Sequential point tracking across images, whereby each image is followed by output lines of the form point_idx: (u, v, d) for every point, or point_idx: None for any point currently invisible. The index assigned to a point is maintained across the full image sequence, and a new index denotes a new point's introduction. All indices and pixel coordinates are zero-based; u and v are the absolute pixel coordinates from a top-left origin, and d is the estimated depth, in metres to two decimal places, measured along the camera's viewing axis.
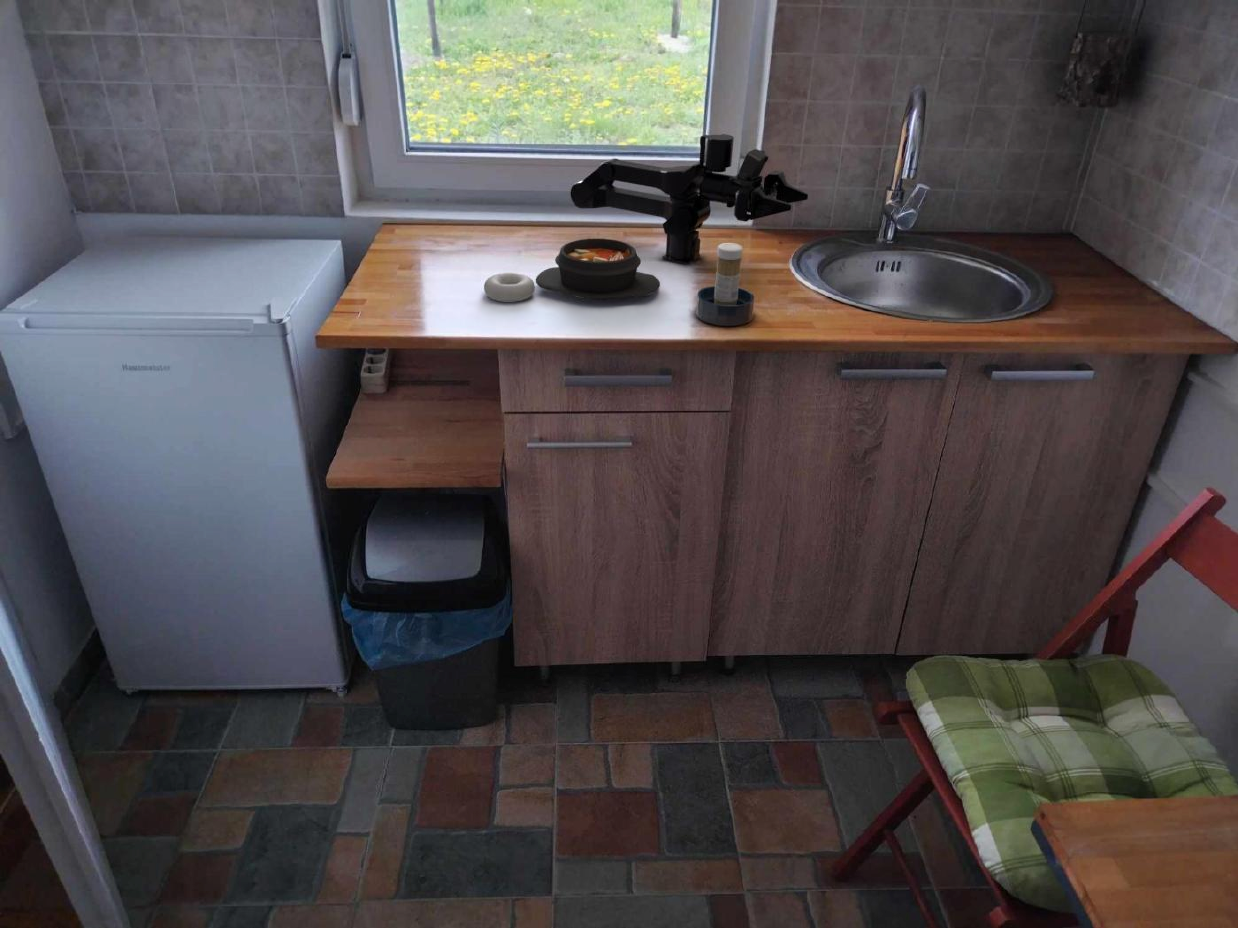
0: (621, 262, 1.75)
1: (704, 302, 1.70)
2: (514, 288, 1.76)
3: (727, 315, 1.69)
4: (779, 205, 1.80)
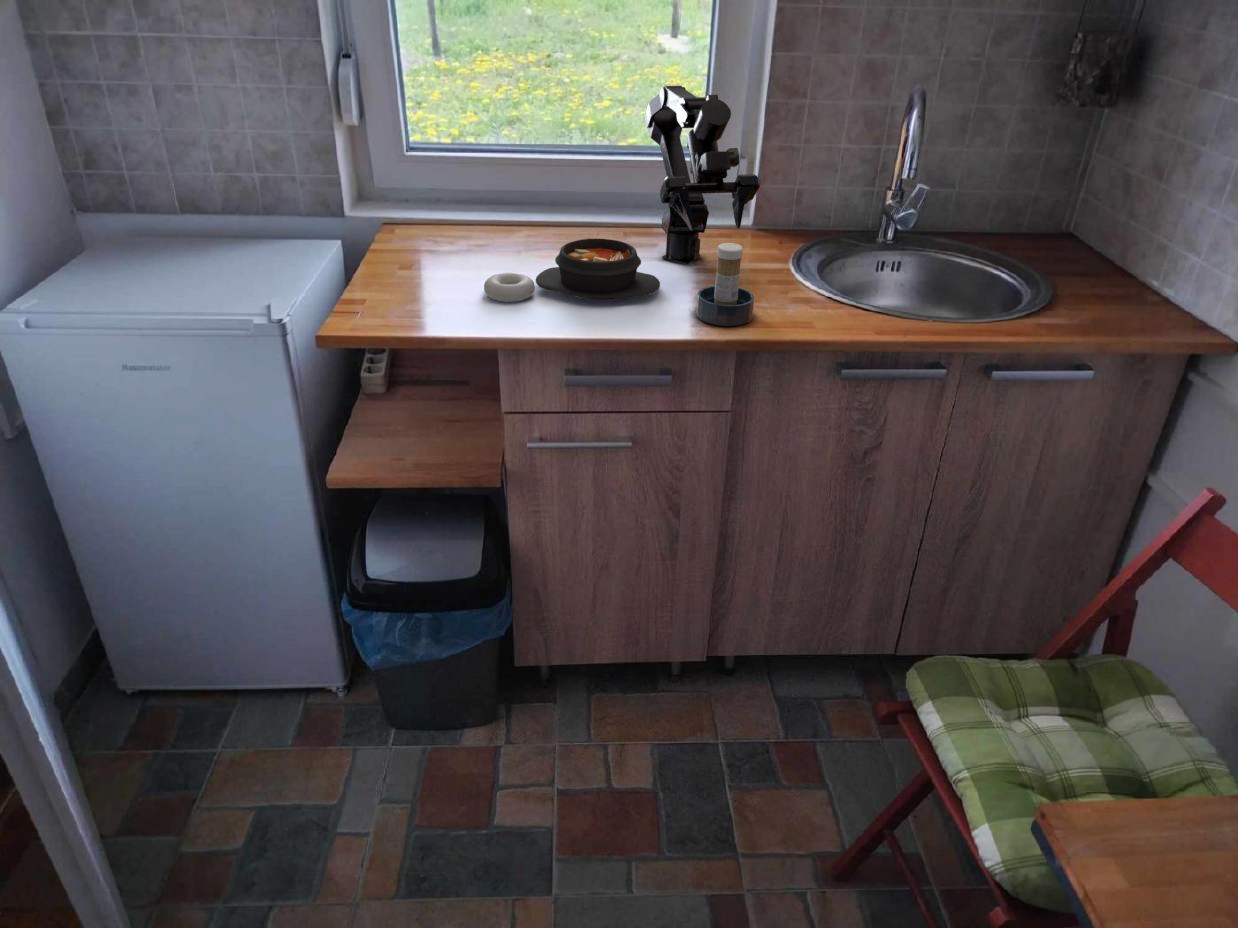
0: (621, 262, 1.75)
1: (704, 302, 1.70)
2: (514, 288, 1.76)
3: (727, 315, 1.69)
4: (688, 219, 1.76)
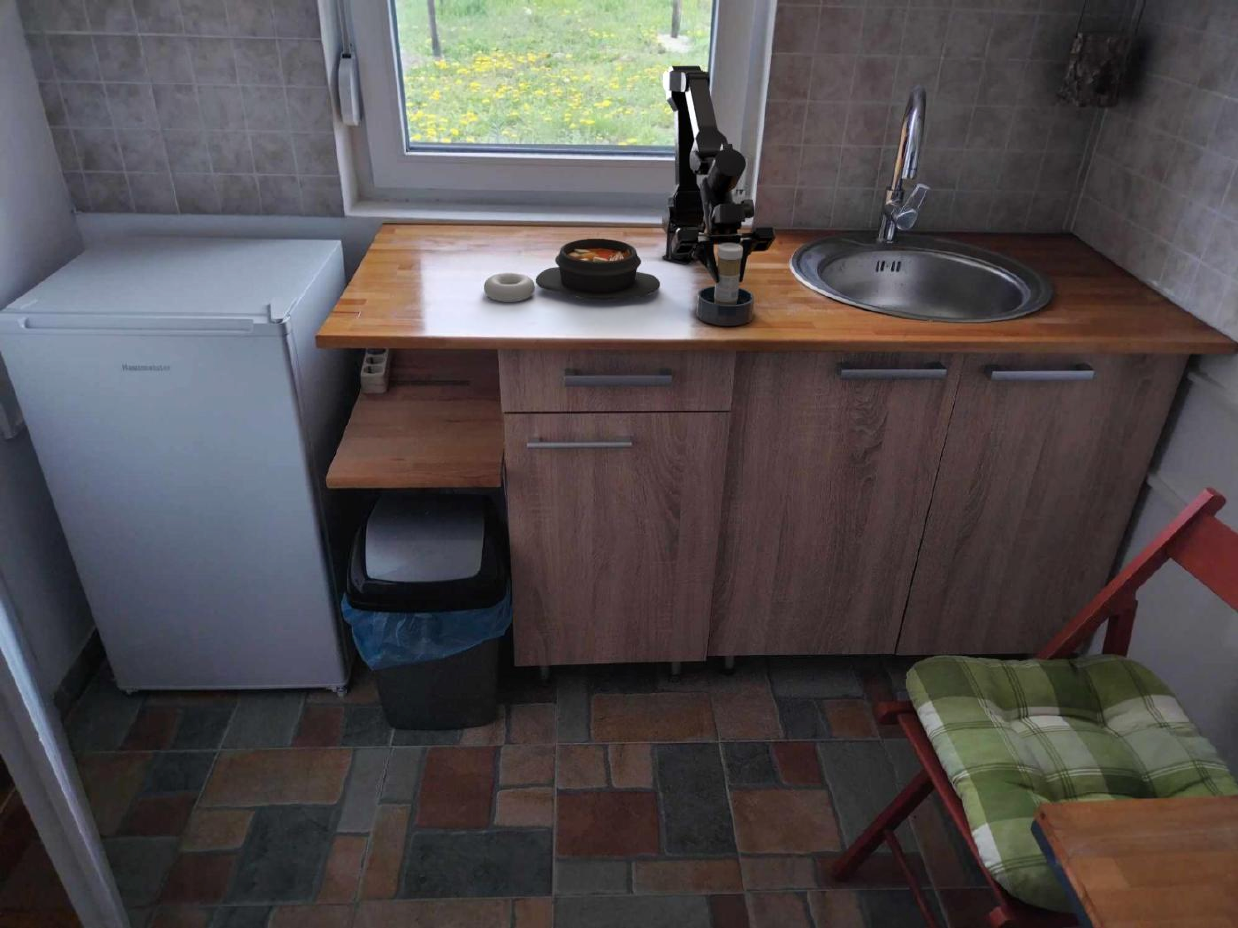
0: (621, 262, 1.75)
1: (704, 302, 1.70)
2: (514, 288, 1.76)
3: (727, 315, 1.69)
4: (712, 271, 1.69)
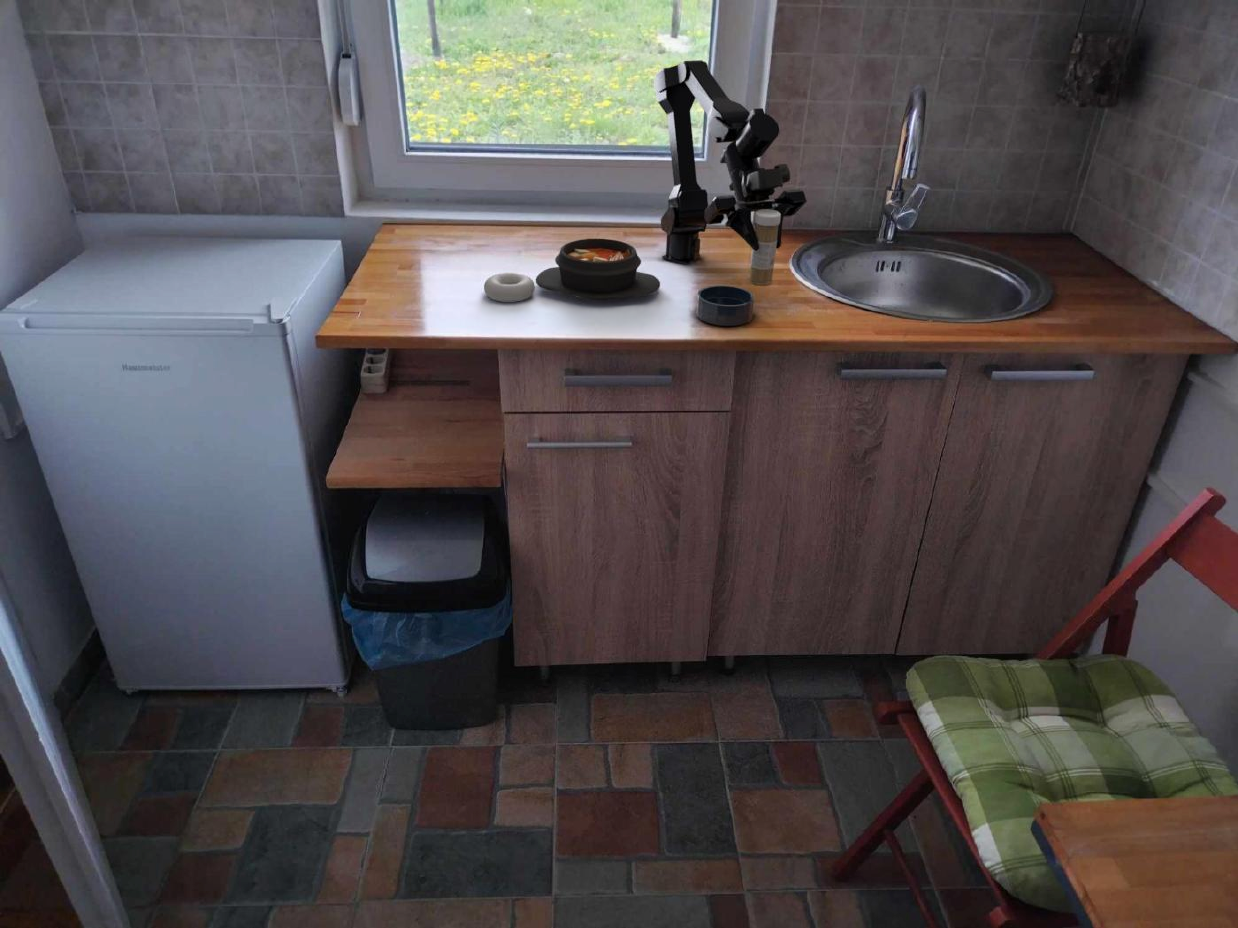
0: (621, 262, 1.75)
1: (704, 302, 1.70)
2: (514, 288, 1.76)
3: (727, 315, 1.69)
4: (751, 239, 1.67)
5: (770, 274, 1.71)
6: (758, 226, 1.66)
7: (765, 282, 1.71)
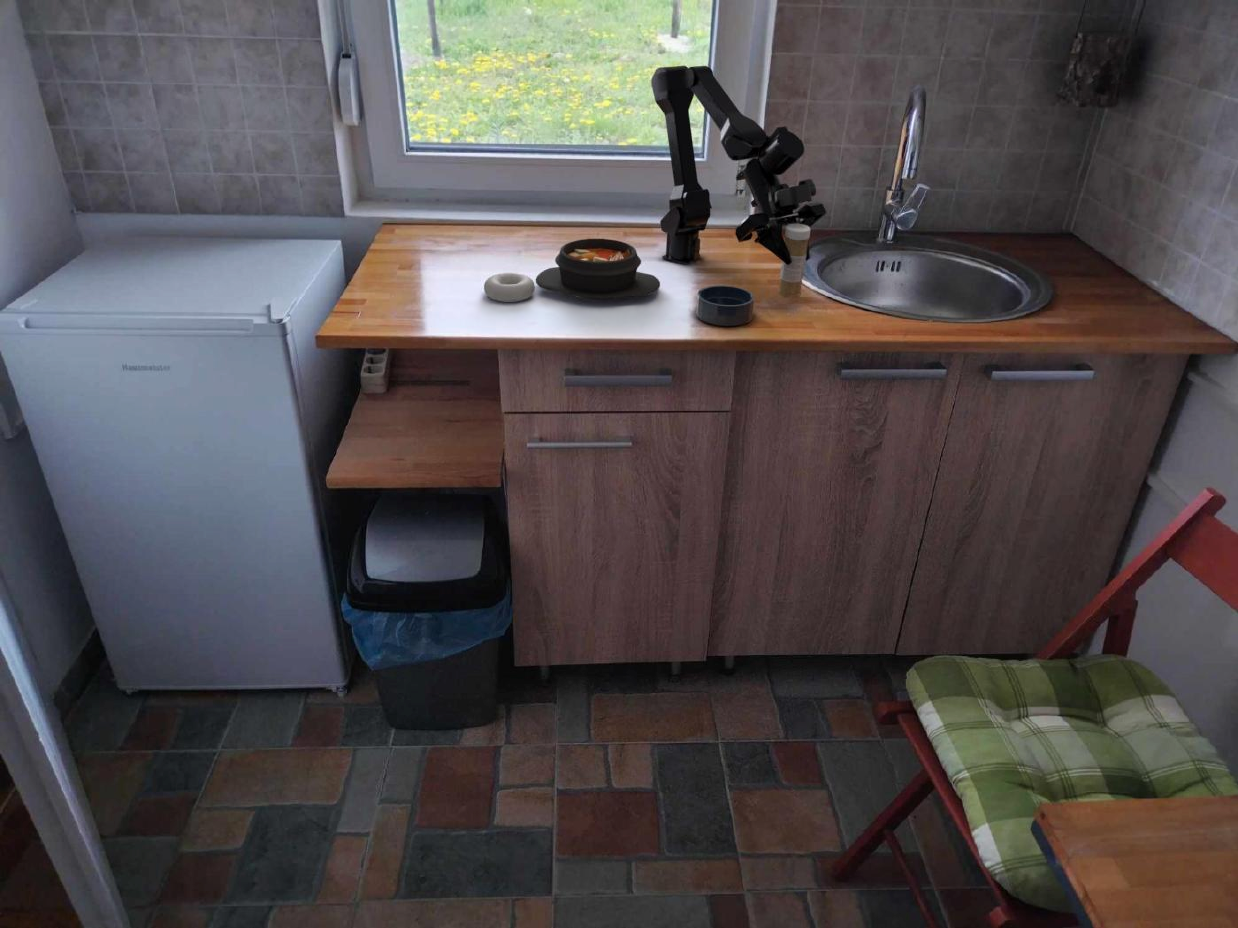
0: (621, 262, 1.75)
1: (704, 302, 1.70)
2: (514, 288, 1.76)
3: (727, 315, 1.69)
4: (783, 254, 1.71)
5: (800, 286, 1.75)
6: (790, 241, 1.70)
7: (796, 294, 1.75)
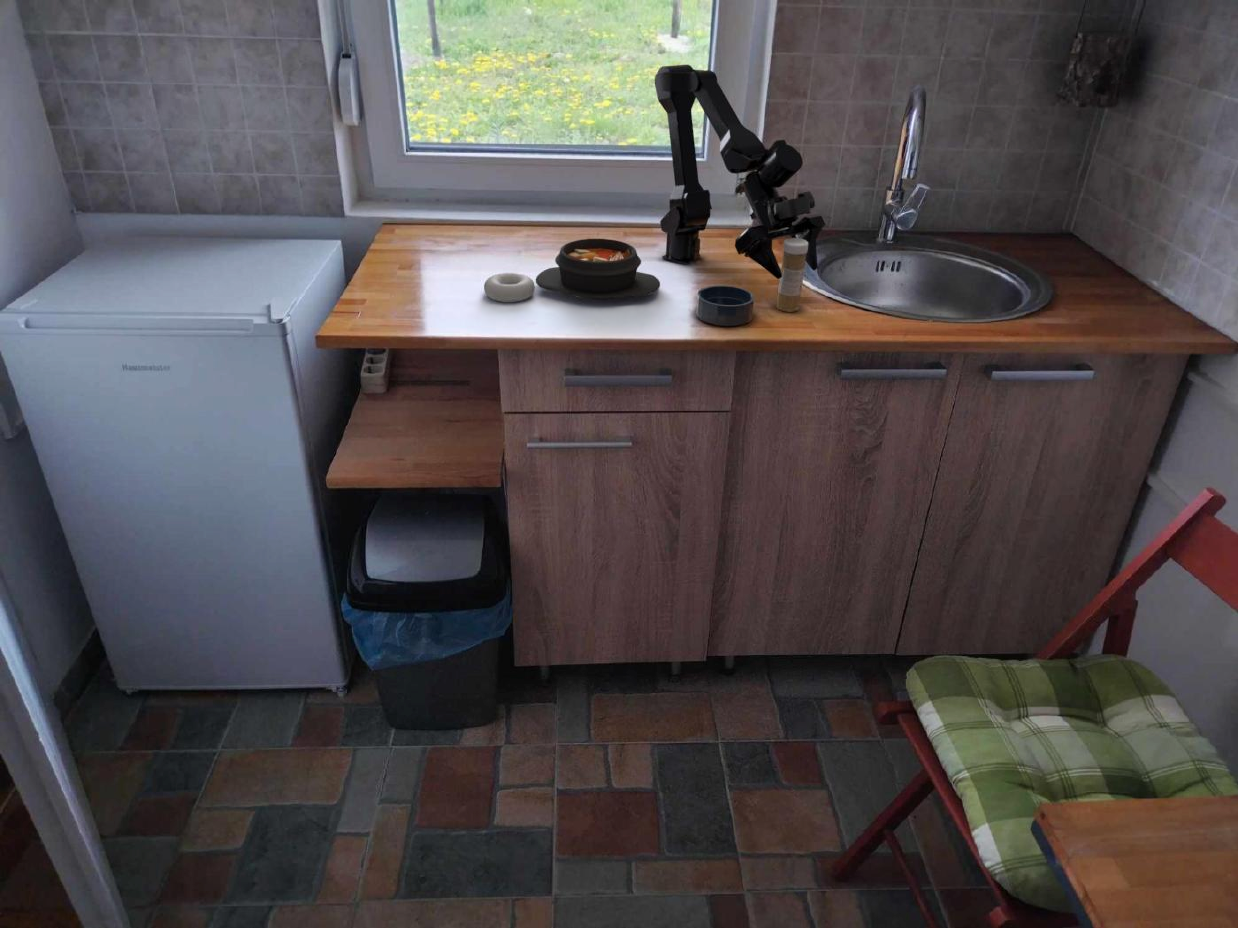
0: (621, 262, 1.75)
1: (704, 302, 1.70)
2: (514, 288, 1.76)
3: (727, 315, 1.69)
4: (773, 268, 1.71)
5: (798, 299, 1.77)
6: (788, 255, 1.72)
7: (795, 307, 1.77)
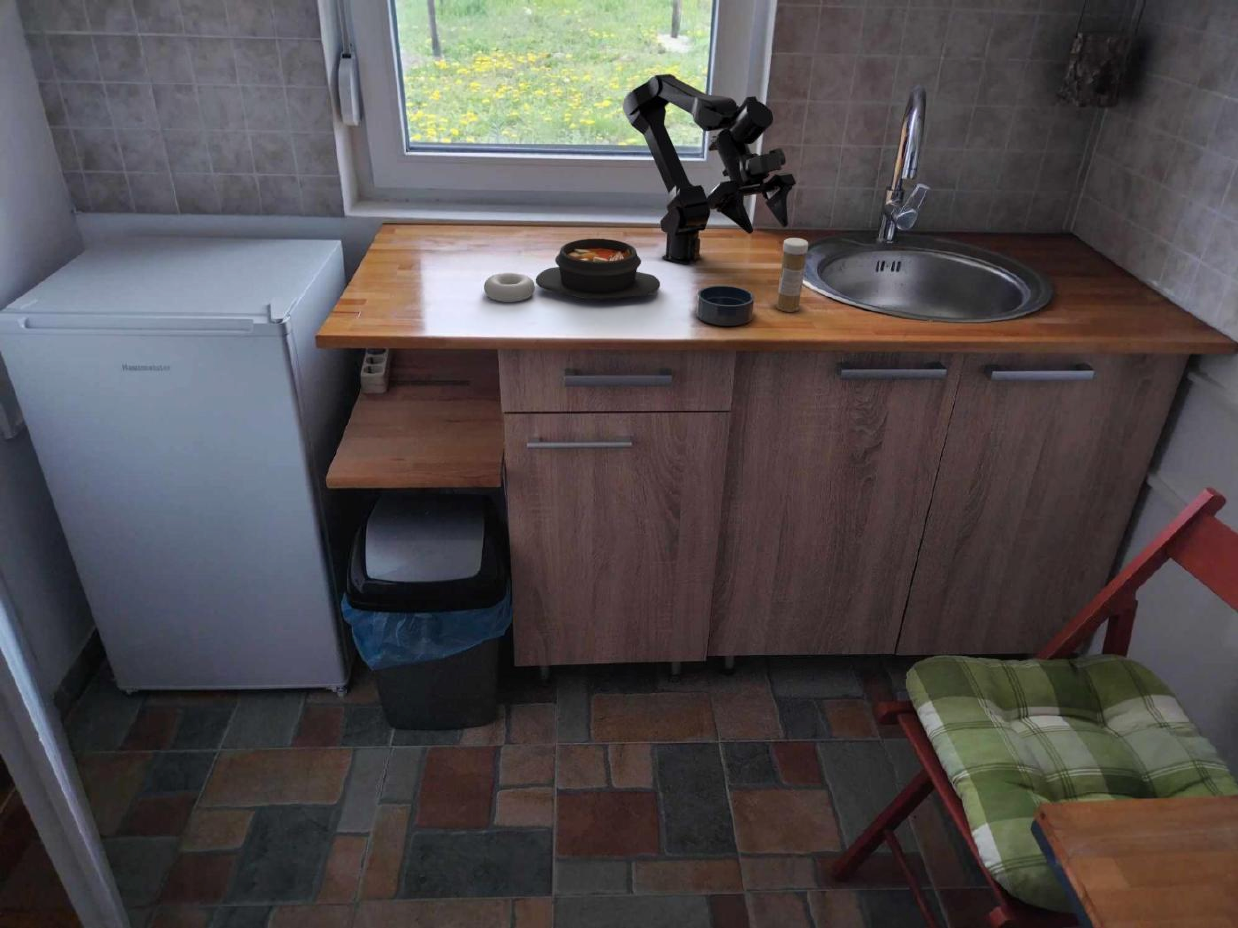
0: (621, 262, 1.75)
1: (704, 302, 1.70)
2: (514, 288, 1.76)
3: (727, 315, 1.69)
4: (745, 223, 1.74)
5: (798, 299, 1.77)
6: (788, 255, 1.72)
7: (795, 307, 1.77)
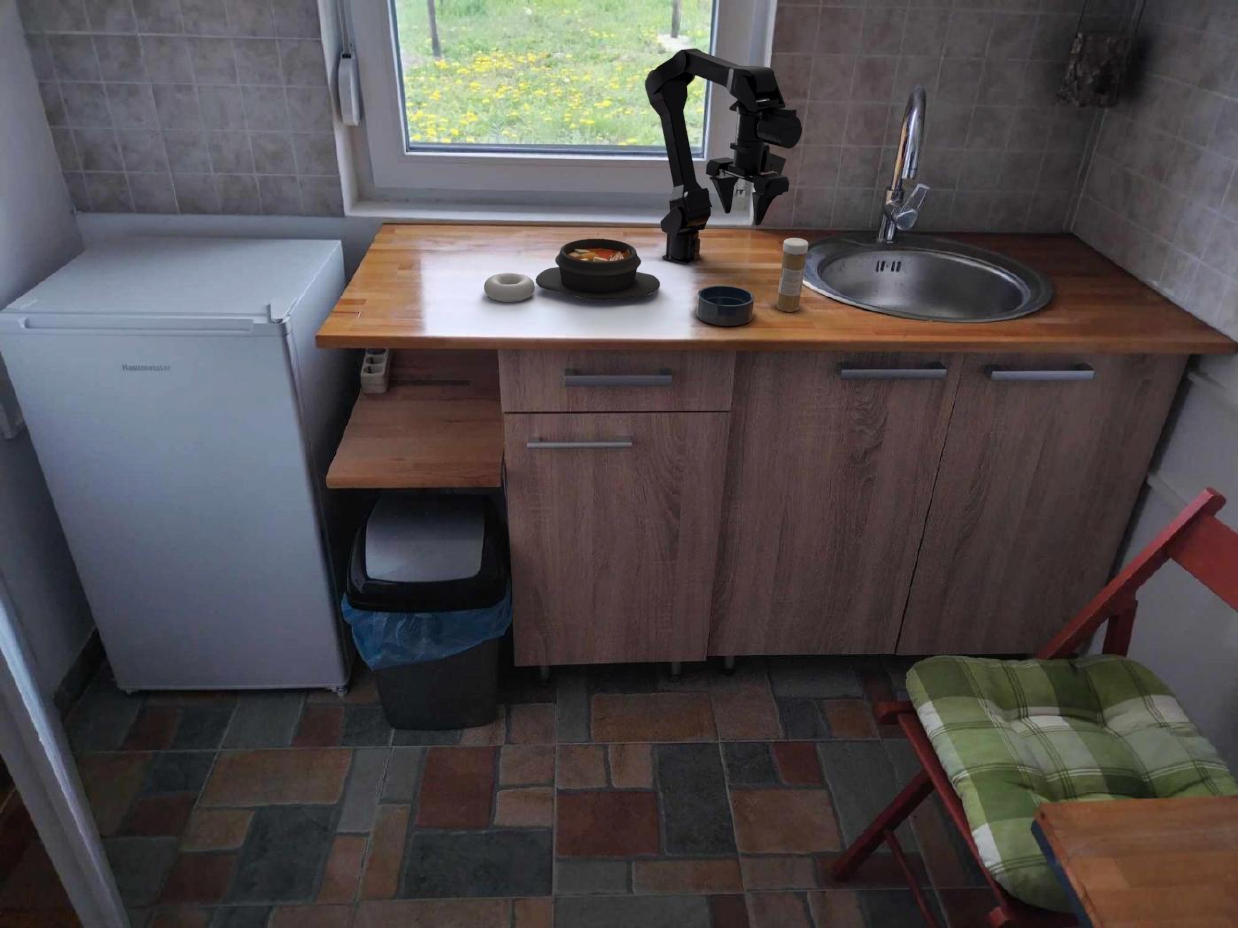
0: (621, 262, 1.75)
1: (704, 302, 1.70)
2: (514, 288, 1.76)
3: (727, 315, 1.69)
4: (761, 215, 1.80)
5: (798, 299, 1.77)
6: (788, 255, 1.72)
7: (795, 307, 1.77)
